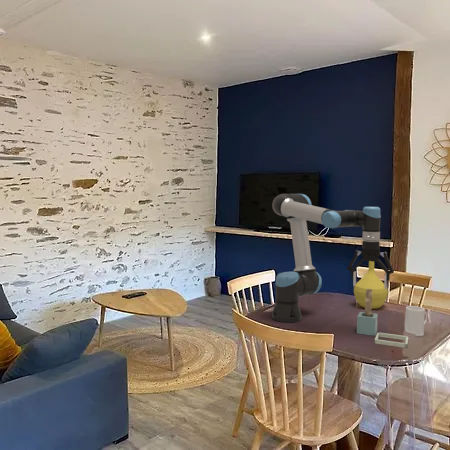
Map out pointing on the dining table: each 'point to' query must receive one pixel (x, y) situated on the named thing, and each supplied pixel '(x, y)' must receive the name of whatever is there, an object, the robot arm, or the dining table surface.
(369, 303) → the dowel
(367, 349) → the dining table surface
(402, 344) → the pale green rectangular frame
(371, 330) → the teal socket block
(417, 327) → the mug
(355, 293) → the vase
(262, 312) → the dining table surface
